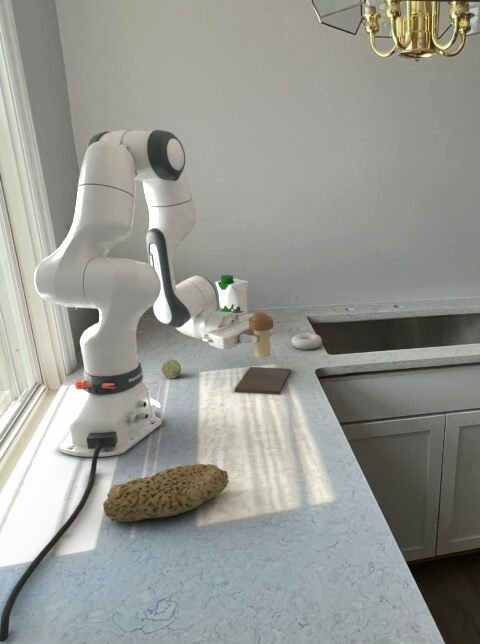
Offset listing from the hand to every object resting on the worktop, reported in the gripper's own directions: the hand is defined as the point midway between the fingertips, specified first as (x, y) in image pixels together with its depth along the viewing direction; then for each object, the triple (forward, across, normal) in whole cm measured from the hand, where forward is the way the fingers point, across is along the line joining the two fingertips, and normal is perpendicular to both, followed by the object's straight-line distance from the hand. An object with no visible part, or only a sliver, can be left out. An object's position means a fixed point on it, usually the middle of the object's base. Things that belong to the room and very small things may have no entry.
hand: (264, 336), depth 151 cm
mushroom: (-1, 0, +6) cm, 6 cm away
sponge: (+19, -55, +13) cm, 59 cm away
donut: (-6, +30, +14) cm, 34 cm away
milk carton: (-35, +30, +14) cm, 48 cm away
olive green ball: (-25, -10, +14) cm, 30 cm away
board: (-1, 0, +13) cm, 13 cm away
